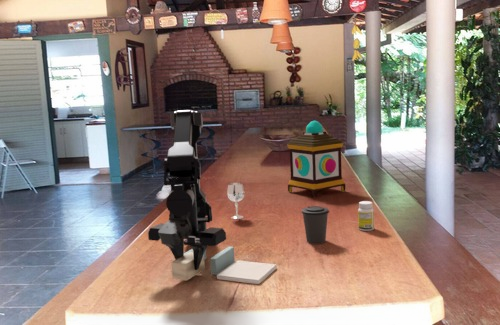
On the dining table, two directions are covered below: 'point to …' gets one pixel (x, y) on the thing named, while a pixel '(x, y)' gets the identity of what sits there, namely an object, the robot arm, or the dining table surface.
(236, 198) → the wineglass
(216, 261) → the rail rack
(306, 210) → the coffee cup
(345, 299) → the dining table surface
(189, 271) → the maple block
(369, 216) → the supplement bottle
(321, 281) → the dining table surface
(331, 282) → the dining table surface
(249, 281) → the ceramic tile
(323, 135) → the decorative lantern
